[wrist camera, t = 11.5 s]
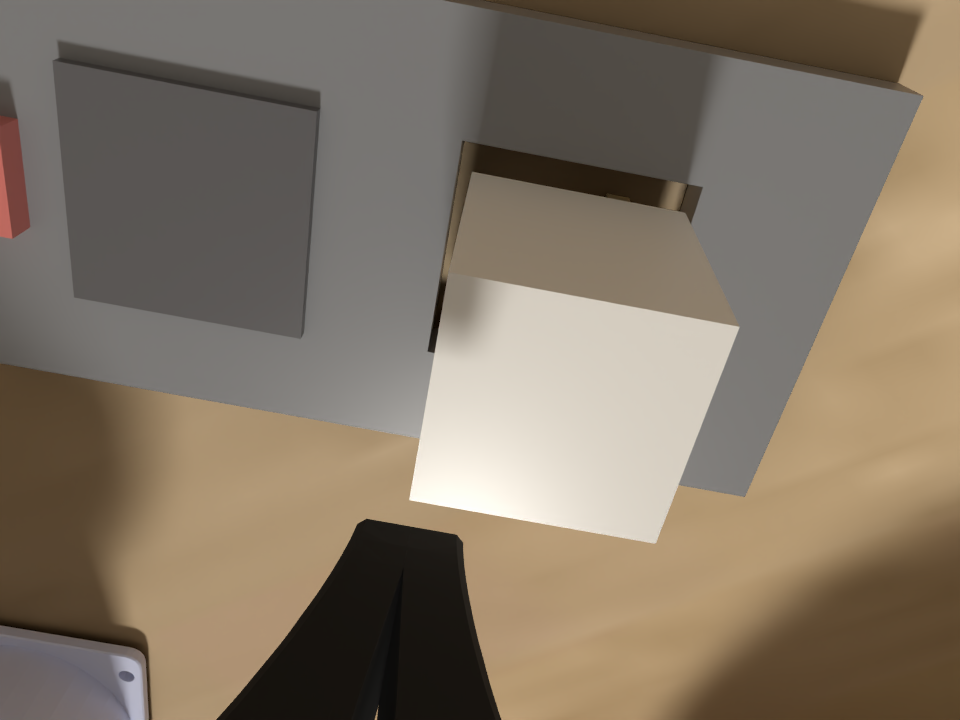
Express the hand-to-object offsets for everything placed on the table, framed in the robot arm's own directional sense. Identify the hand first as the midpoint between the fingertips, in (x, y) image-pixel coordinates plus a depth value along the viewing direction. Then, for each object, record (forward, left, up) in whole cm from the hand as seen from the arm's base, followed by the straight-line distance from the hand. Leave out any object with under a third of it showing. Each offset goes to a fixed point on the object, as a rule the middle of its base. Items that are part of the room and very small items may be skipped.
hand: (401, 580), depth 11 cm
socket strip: (+1, +2, -10) cm, 10 cm away
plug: (+1, -2, -10) cm, 10 cm away
